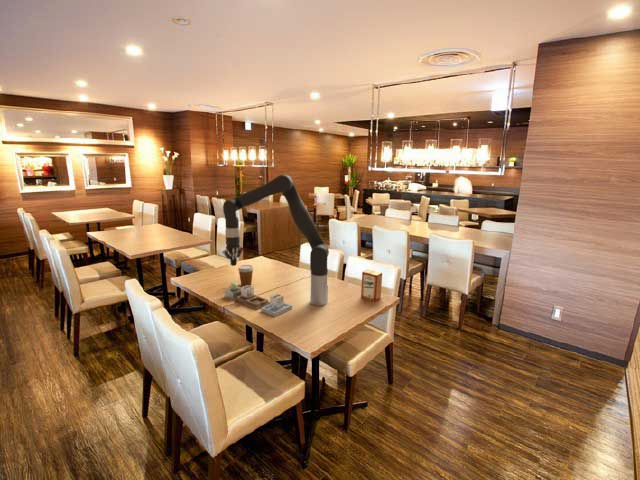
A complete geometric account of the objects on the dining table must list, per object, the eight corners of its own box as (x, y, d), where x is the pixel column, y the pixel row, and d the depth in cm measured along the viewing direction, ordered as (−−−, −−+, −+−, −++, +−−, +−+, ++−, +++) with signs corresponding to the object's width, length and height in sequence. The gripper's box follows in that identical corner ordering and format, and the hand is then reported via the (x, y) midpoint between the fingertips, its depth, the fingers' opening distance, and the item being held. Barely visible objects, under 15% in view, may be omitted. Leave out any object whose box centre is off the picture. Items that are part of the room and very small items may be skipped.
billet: (276, 305, 176) (276, 293, 175) (283, 308, 173) (283, 295, 172) (270, 308, 172) (269, 296, 171) (276, 311, 169) (276, 298, 168)
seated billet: (248, 296, 187) (247, 284, 185) (253, 298, 184) (253, 286, 182) (241, 299, 183) (240, 287, 181) (247, 301, 180) (246, 289, 178)
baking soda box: (380, 298, 192) (382, 272, 189) (375, 301, 187) (377, 274, 184) (366, 293, 198) (368, 268, 194) (361, 297, 193) (362, 271, 189)
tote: (278, 303, 181) (278, 300, 180) (292, 308, 175) (292, 305, 175) (261, 311, 171) (261, 307, 170) (274, 316, 165) (274, 313, 164)
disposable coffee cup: (236, 284, 208) (235, 266, 206) (249, 281, 214) (249, 263, 212) (242, 288, 201) (242, 270, 199) (256, 285, 207) (256, 267, 205)
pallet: (248, 295, 191) (248, 291, 190) (270, 304, 180) (270, 299, 179) (234, 301, 183) (234, 296, 182) (256, 310, 172) (256, 305, 172)
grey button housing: (235, 293, 194) (235, 286, 193) (244, 296, 190) (244, 289, 189) (224, 297, 188) (224, 289, 187) (233, 300, 183) (233, 293, 182)
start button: (235, 288, 190) (234, 282, 189) (238, 289, 188) (238, 283, 187) (230, 290, 188) (229, 283, 187) (234, 291, 186) (233, 285, 185)
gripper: (237, 232, 188) (238, 261, 192) (218, 236, 178) (219, 266, 182) (246, 234, 184) (247, 264, 188) (226, 238, 173) (228, 269, 177)
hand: (233, 265), depth 185 cm, fingers closed
